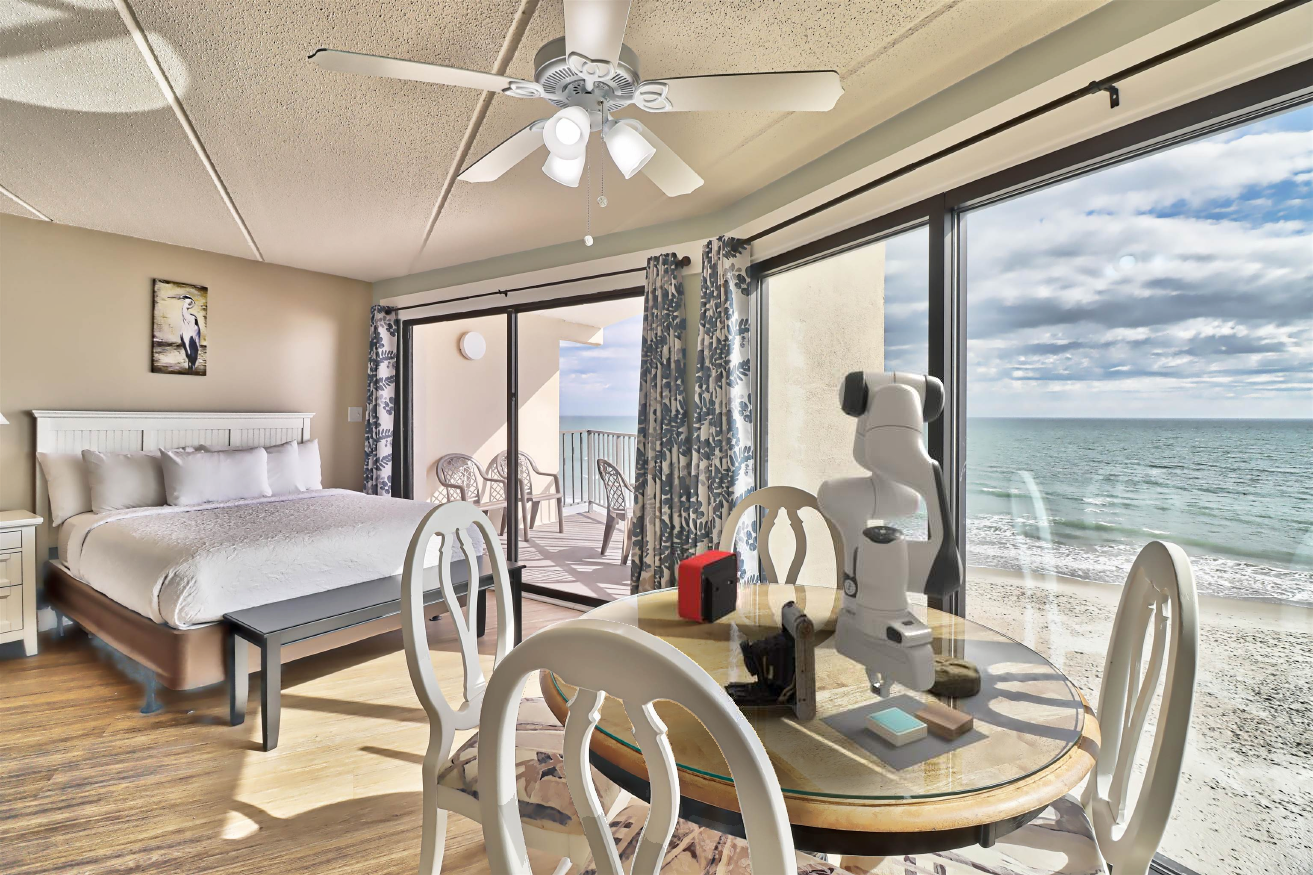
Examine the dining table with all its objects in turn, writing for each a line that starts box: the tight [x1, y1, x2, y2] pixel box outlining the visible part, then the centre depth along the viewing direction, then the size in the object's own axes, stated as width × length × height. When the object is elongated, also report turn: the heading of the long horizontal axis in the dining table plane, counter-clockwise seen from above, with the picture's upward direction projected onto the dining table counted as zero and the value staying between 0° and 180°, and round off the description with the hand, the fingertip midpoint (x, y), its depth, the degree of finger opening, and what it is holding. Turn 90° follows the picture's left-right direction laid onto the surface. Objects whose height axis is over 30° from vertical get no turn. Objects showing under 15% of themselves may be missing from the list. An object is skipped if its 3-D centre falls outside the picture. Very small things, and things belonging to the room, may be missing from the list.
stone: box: [927, 654, 982, 698], centre depth 128 cm, size 13×13×5 cm
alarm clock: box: [677, 549, 738, 624], centre depth 171 cm, size 10×20×16 cm, turn 144°
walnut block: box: [915, 701, 975, 741], centre depth 111 cm, size 7×7×2 cm
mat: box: [819, 693, 990, 772], centre depth 110 cm, size 22×18×1 cm
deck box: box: [866, 708, 927, 746], centre depth 109 cm, size 7×2×7 cm
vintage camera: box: [723, 600, 817, 721], centre depth 116 cm, size 10×16×20 cm, turn 95°
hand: (879, 695), depth 112 cm, fingers closed
